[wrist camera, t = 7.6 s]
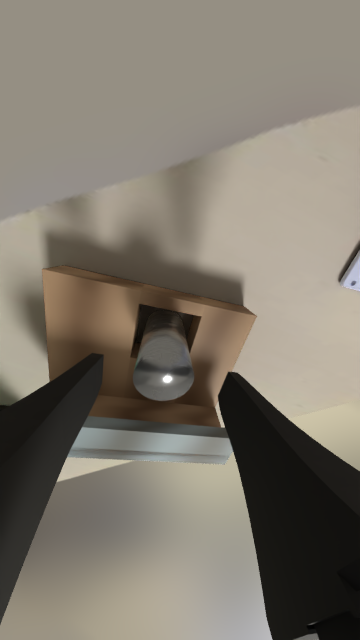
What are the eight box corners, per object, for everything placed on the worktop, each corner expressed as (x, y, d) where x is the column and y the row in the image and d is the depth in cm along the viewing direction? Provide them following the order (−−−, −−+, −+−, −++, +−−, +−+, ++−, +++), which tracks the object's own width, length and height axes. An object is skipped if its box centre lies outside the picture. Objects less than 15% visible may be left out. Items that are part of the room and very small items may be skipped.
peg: (180, 343, 17) (189, 401, 11) (145, 341, 17) (132, 400, 10) (185, 311, 16) (198, 355, 9) (146, 307, 15) (132, 351, 9)
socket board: (243, 306, 16) (296, 345, 10) (206, 396, 20) (224, 464, 14) (63, 265, 13) (-32, 282, 7) (65, 379, 18) (9, 454, 11)
